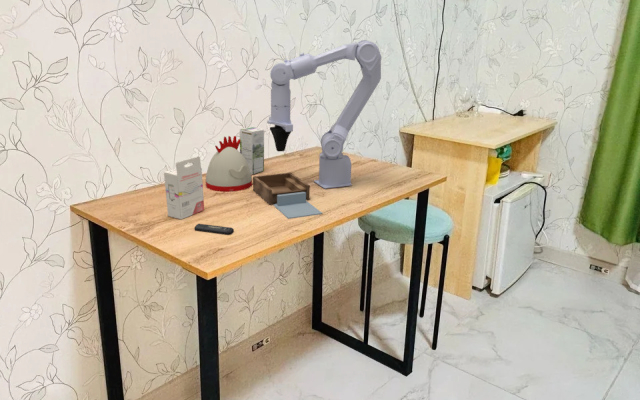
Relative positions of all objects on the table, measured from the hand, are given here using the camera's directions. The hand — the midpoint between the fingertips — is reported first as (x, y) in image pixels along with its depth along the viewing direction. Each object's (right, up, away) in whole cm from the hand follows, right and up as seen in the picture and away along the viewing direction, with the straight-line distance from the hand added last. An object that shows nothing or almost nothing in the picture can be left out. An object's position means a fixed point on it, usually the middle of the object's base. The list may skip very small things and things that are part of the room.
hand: (280, 150), depth 156 cm
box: (+1, -13, -7) cm, 15 cm away
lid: (+6, -18, -18) cm, 26 cm away
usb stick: (-13, -23, -33) cm, 42 cm away
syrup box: (-10, -6, +15) cm, 20 cm away
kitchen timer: (-16, -10, +2) cm, 19 cm away
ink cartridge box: (-23, -18, -22) cm, 37 cm away
